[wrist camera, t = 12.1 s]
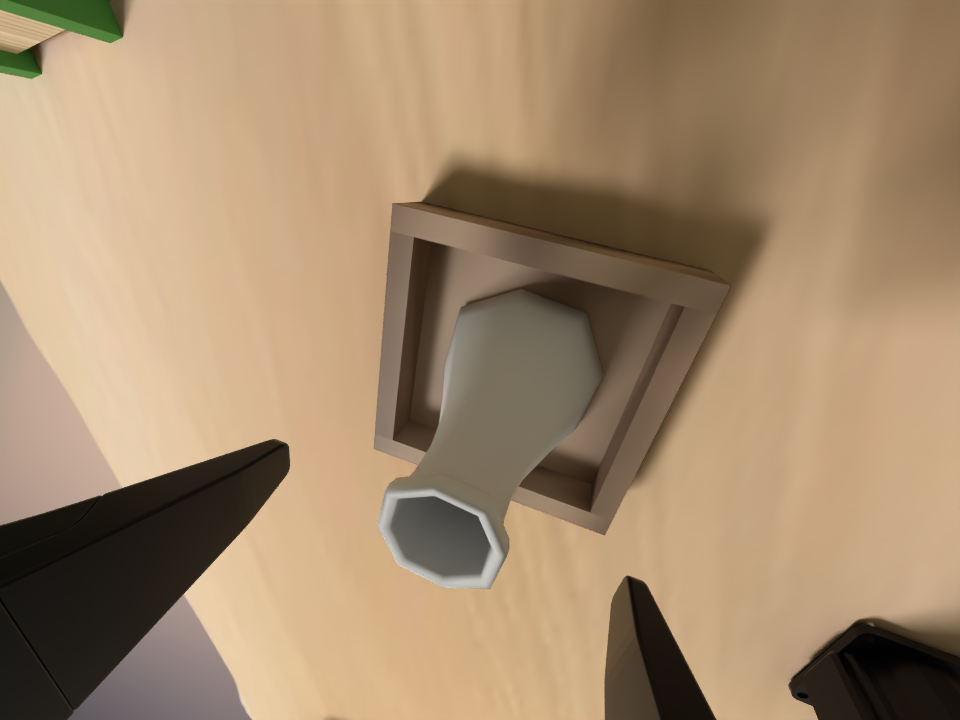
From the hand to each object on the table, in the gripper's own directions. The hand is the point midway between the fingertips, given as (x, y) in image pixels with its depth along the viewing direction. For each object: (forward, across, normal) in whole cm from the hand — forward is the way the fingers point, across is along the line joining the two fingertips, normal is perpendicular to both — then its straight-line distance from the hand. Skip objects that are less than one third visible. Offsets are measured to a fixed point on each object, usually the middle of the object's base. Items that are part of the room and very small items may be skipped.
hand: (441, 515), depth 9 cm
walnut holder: (+10, 0, 0) cm, 10 cm away
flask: (+9, 0, 0) cm, 9 cm away
